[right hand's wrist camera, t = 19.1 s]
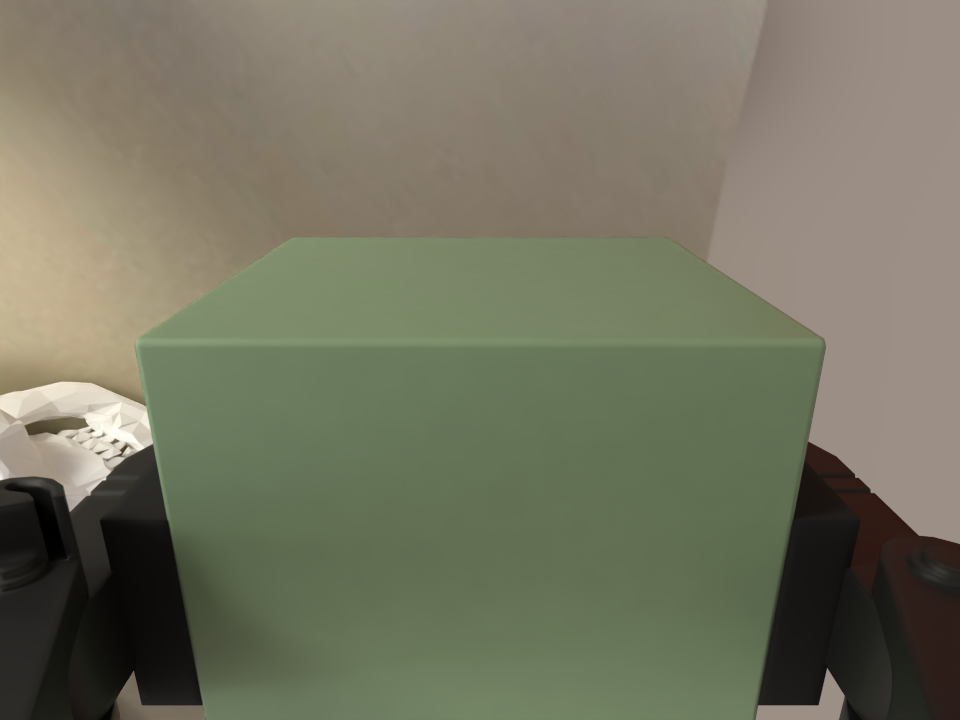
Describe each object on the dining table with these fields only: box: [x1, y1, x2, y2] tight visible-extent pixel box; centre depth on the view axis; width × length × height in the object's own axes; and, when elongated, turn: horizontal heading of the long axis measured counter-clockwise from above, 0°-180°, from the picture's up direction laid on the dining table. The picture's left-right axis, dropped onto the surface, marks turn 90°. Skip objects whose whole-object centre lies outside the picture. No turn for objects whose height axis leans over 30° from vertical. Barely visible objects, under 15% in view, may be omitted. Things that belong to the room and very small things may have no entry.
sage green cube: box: [135, 237, 826, 720], centre depth 11 cm, size 7×7×6 cm
